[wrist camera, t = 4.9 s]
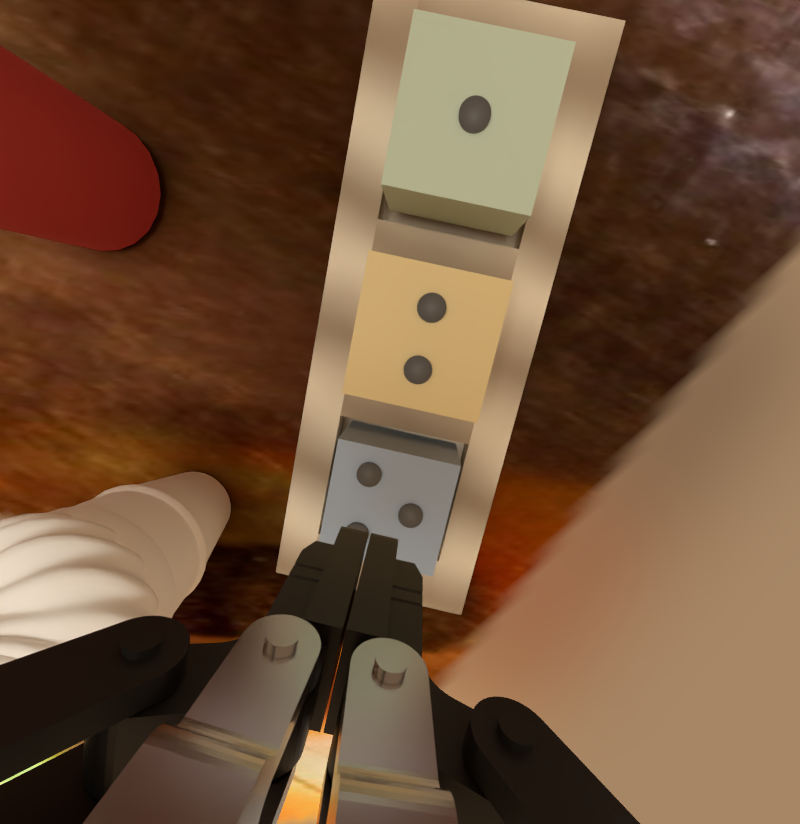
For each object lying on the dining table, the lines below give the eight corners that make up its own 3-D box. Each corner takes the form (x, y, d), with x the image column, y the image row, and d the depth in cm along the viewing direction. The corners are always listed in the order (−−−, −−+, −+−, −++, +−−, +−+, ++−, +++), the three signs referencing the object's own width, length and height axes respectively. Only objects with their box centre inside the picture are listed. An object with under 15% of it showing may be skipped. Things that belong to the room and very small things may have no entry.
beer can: (191, 186, 23) (-51, 46, 12) (120, 278, 24) (-164, 236, 13) (95, 92, 23) (-264, -158, 11) (27, 192, 24) (-361, 64, 12)
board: (383, 3, 21) (378, -30, 19) (606, 49, 21) (625, 20, 19) (286, 554, 27) (275, 572, 25) (458, 593, 27) (461, 615, 25)
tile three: (352, 420, 25) (337, 439, 21) (455, 443, 25) (461, 467, 20) (333, 516, 26) (316, 552, 22) (431, 538, 26) (432, 578, 22)
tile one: (416, 71, 20) (413, 4, 16) (546, 98, 20) (577, 38, 15) (389, 210, 21) (380, 182, 17) (511, 236, 21) (532, 214, 17)
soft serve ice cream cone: (287, 536, 27) (92, 830, 11) (176, 583, 28) (-140, 909, 12) (221, 416, 26) (-101, 561, 10) (107, 471, 27) (-341, 677, 11)
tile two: (379, 263, 21) (368, 249, 17) (498, 289, 21) (515, 280, 17) (356, 381, 23) (340, 393, 19) (468, 406, 23) (477, 424, 18)
